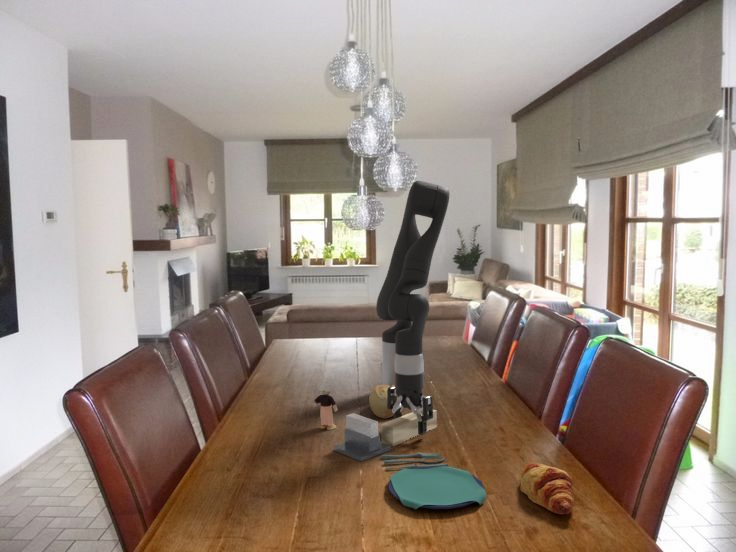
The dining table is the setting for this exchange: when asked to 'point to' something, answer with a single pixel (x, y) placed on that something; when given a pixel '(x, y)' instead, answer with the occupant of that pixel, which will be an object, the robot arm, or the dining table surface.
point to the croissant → (548, 487)
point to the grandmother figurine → (326, 406)
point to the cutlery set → (433, 484)
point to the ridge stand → (361, 438)
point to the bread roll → (380, 401)
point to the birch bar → (404, 428)
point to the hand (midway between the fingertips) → (409, 430)
